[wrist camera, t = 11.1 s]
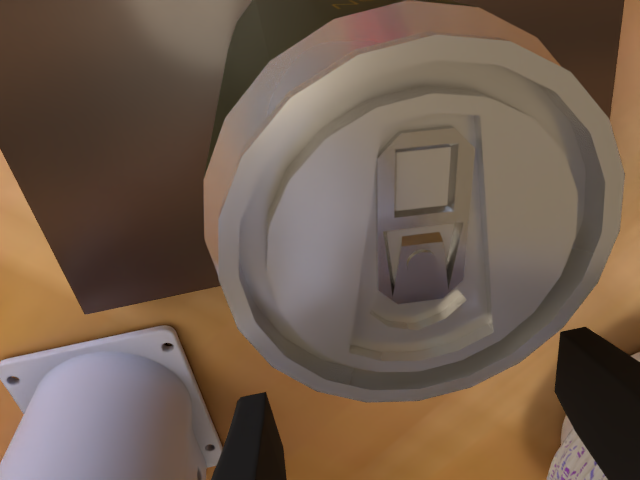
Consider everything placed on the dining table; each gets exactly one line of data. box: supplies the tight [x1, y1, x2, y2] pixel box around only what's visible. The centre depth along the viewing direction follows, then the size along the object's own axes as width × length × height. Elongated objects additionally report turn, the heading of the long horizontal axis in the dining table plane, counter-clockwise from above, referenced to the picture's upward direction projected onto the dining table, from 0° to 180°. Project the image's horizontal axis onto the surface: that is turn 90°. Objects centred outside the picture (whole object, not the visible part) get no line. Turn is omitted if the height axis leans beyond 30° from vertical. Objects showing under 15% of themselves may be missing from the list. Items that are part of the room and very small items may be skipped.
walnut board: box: [0, 0, 624, 314], centre depth 17 cm, size 15×21×2 cm
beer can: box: [203, 0, 625, 402], centre depth 11 cm, size 5×5×12 cm
